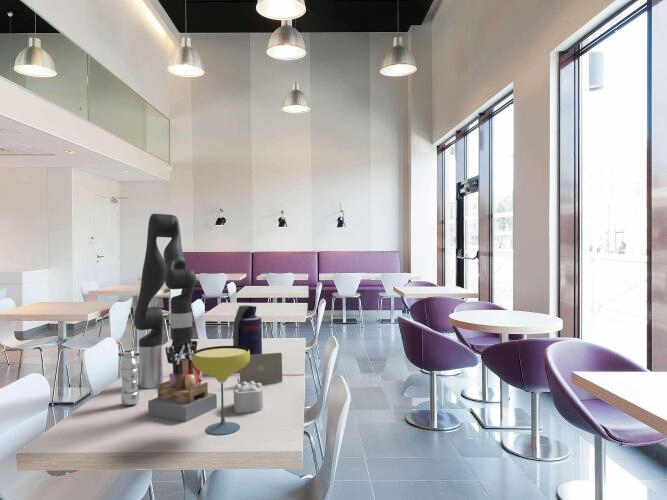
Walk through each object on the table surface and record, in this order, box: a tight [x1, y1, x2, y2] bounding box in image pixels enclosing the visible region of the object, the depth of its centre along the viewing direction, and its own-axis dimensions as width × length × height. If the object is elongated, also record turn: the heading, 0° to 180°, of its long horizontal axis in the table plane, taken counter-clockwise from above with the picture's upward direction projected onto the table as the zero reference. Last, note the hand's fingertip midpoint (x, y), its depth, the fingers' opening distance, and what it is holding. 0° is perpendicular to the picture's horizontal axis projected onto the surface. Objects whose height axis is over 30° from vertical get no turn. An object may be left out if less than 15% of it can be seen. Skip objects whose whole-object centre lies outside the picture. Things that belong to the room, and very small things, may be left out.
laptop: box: [237, 352, 283, 385], centre depth 219 cm, size 18×12×13 cm
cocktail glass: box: [192, 345, 250, 436], centre depth 161 cm, size 18×18×25 cm
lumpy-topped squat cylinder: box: [233, 381, 264, 414], centre depth 183 cm, size 10×13×9 cm
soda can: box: [189, 351, 203, 385], centre depth 214 cm, size 7×7×13 cm
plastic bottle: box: [119, 349, 140, 406], centre depth 188 cm, size 6×7×20 cm
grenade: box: [232, 304, 263, 355], centre depth 239 cm, size 14×12×30 cm
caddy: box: [157, 357, 209, 403], centre depth 179 cm, size 15×9×14 cm, turn 64°
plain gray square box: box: [147, 392, 218, 423], centre depth 179 cm, size 17×16×5 cm
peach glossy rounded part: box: [185, 375, 195, 390], centre depth 178 cm, size 3×3×4 cm
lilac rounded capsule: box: [168, 372, 176, 388], centre depth 180 cm, size 3×3×4 cm
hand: (182, 372), depth 179 cm, fingers open, 5 cm apart
